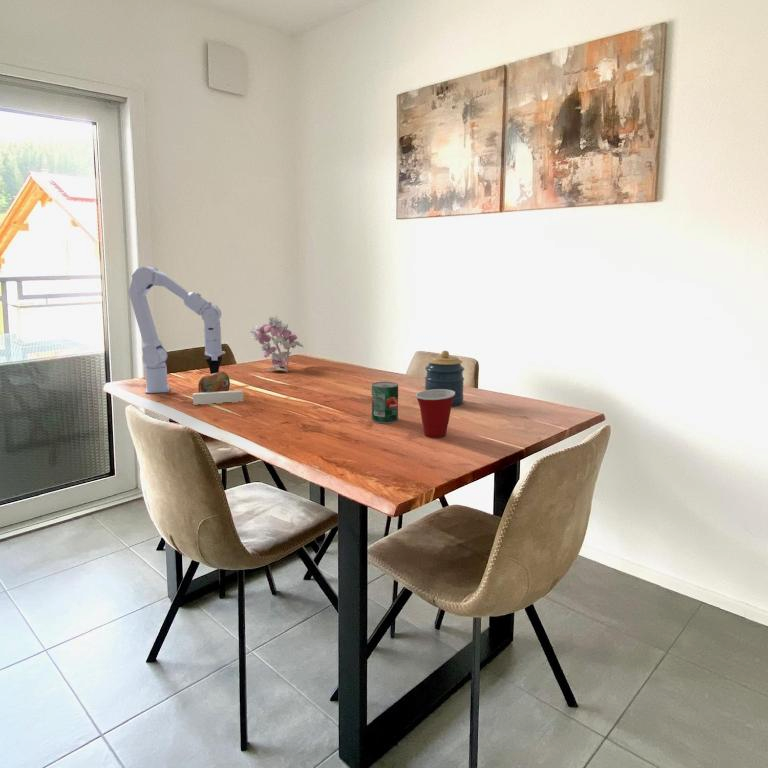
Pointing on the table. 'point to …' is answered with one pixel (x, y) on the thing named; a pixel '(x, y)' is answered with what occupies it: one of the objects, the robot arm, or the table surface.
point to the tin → (214, 383)
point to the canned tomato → (384, 402)
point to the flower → (275, 341)
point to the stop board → (217, 397)
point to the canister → (446, 375)
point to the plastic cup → (435, 411)
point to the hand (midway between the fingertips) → (214, 377)
